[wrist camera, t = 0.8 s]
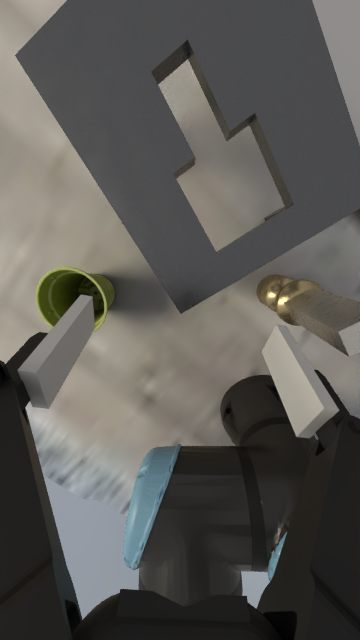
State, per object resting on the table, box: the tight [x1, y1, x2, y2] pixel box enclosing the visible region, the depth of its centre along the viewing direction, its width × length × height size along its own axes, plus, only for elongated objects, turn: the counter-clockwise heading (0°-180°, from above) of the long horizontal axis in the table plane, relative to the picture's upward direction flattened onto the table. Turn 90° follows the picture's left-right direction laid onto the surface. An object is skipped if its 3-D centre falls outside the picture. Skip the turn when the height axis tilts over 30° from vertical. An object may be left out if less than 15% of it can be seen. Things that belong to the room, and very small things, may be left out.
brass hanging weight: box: [257, 275, 360, 357], centre depth 26 cm, size 6×6×20 cm
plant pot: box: [36, 267, 115, 332], centre depth 32 cm, size 9×9×9 cm
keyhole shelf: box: [15, 0, 360, 313], centre depth 23 cm, size 22×18×16 cm
